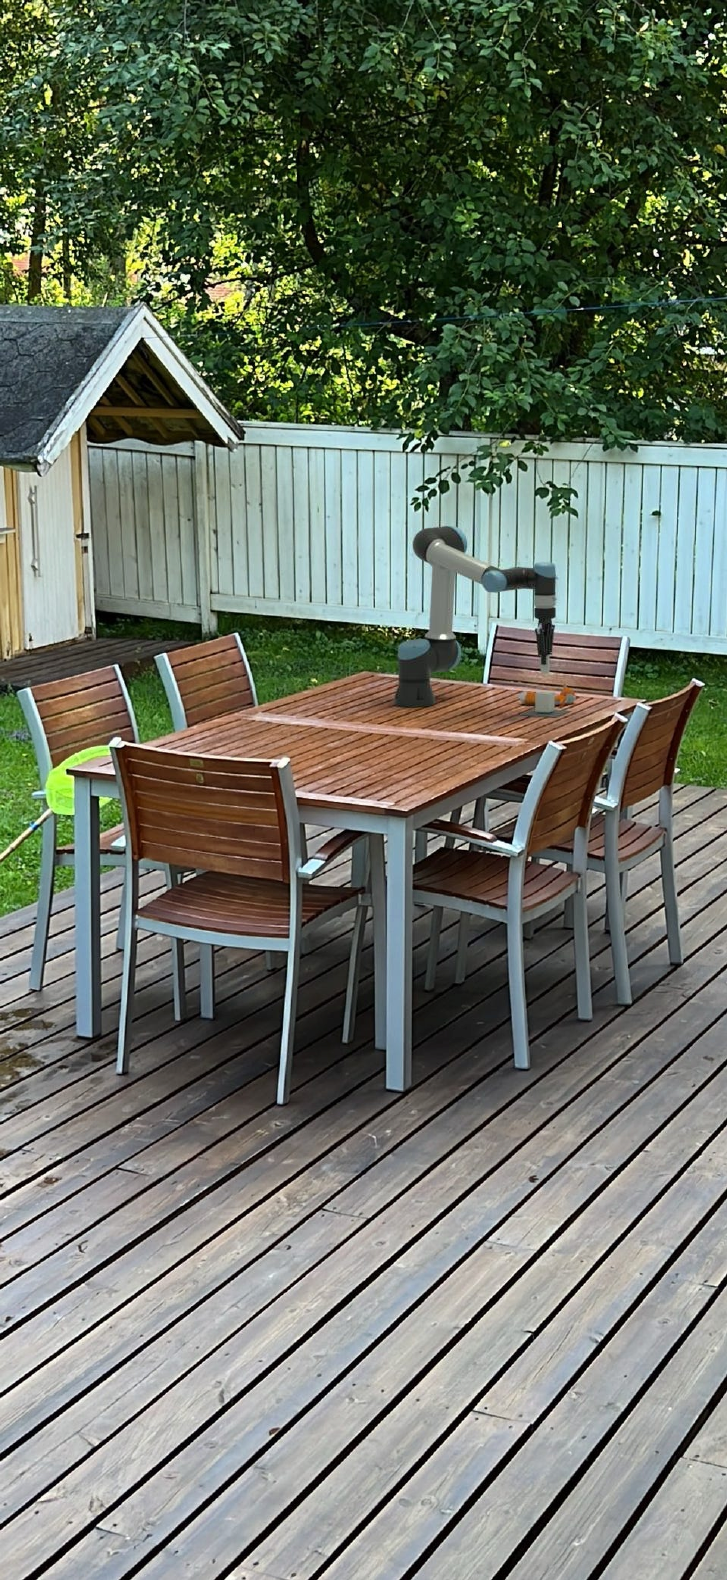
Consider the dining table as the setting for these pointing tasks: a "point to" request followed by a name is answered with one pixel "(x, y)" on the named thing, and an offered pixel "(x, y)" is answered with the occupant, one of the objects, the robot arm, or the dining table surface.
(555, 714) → the mat
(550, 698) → the light grey block
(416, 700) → the robot arm
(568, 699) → the toy
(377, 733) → the dining table surface
